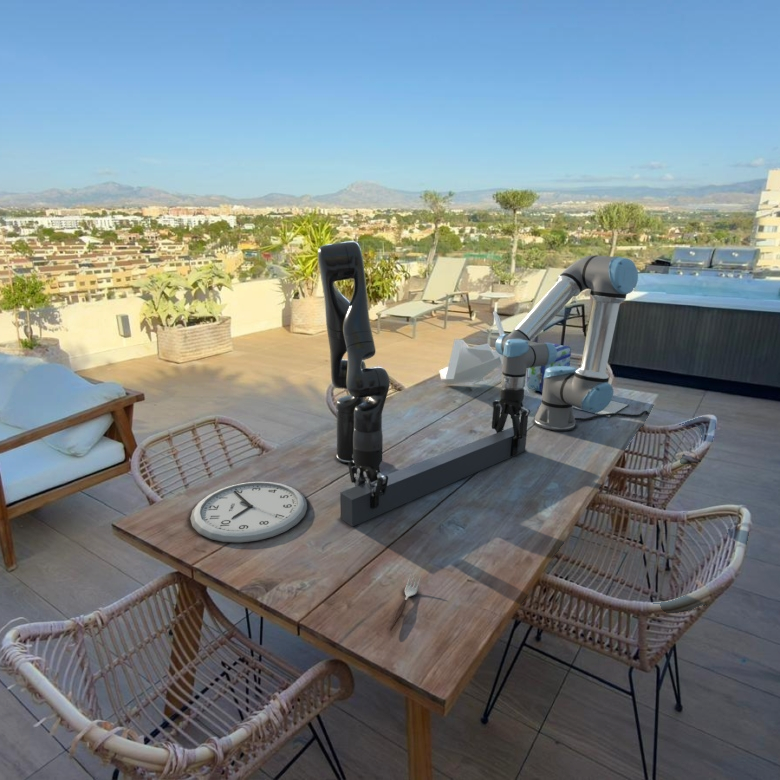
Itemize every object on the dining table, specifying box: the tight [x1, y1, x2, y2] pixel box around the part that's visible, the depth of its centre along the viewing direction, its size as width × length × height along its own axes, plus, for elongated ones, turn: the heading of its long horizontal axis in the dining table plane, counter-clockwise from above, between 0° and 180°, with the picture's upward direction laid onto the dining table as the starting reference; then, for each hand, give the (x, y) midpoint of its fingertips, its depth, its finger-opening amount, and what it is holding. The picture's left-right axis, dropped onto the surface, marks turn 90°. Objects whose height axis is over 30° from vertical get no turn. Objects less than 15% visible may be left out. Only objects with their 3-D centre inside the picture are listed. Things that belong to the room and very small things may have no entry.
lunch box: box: [526, 343, 572, 394], centre depth 248 cm, size 26×11×21 cm, turn 135°
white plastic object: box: [438, 310, 531, 397], centre depth 245 cm, size 37×45×31 cm
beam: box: [339, 426, 528, 527], centre depth 157 cm, size 75×5×8 cm, turn 131°
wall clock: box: [190, 481, 308, 544], centre depth 139 cm, size 30×2×30 cm
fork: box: [389, 573, 422, 632], centre depth 105 cm, size 3×16×2 cm, turn 160°
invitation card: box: [573, 400, 629, 418], centre depth 226 cm, size 21×1×15 cm
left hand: (367, 503), depth 138 cm, fingers closed on beam, 5 cm apart
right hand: (506, 452), depth 177 cm, fingers closed on beam, 5 cm apart
